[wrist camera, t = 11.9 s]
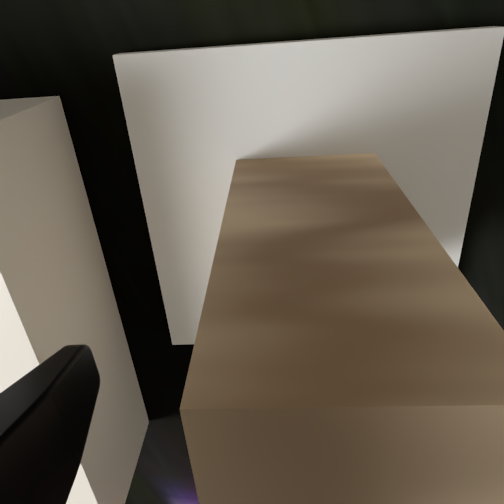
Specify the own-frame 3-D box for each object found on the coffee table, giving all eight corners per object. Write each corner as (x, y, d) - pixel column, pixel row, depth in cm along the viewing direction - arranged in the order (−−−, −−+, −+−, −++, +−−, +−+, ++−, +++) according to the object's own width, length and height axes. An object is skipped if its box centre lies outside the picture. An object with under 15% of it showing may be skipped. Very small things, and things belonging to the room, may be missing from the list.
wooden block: (374, 153, 12) (556, 404, 4) (365, 271, 14) (480, 589, 6) (235, 159, 13) (179, 409, 5) (245, 275, 15) (216, 585, 7)
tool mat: (494, 26, 11) (505, 26, 11) (438, 326, 16) (444, 337, 16) (119, 53, 12) (112, 54, 11) (175, 334, 17) (172, 344, 16)
